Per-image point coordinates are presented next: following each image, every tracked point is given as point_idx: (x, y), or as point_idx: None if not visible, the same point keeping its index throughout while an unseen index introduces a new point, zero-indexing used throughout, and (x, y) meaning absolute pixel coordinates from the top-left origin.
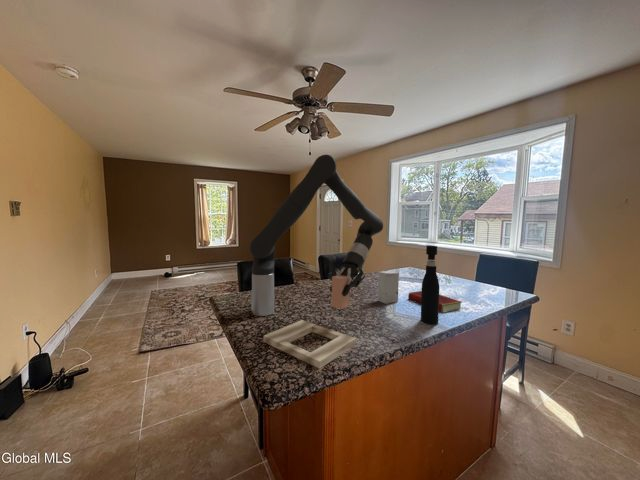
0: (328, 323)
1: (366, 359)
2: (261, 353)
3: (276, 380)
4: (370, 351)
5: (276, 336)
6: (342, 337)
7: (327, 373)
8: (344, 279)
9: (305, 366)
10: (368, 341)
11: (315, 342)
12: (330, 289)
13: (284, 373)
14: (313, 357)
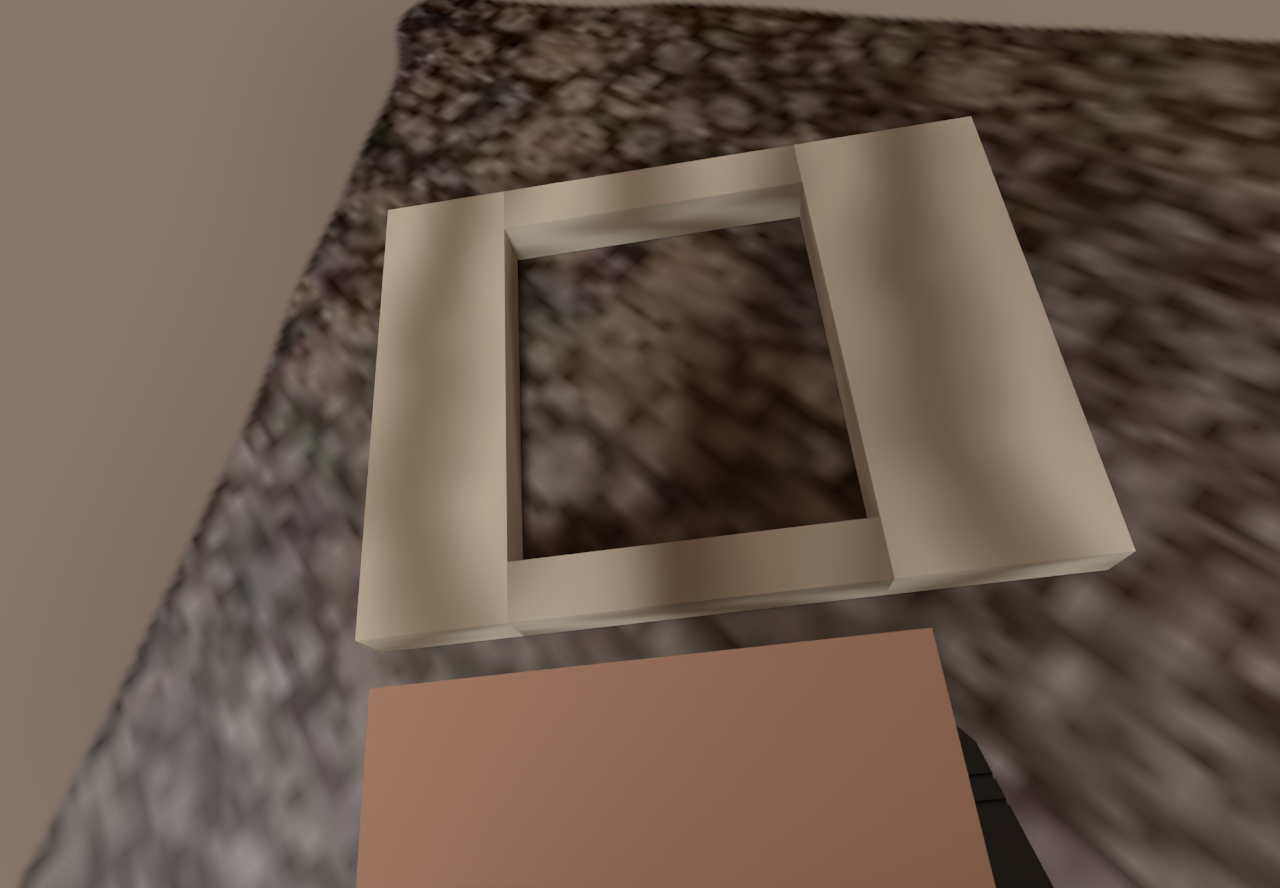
0: None
1: (212, 521)
2: (804, 93)
3: (512, 58)
4: (227, 644)
5: (891, 175)
6: (466, 559)
7: (346, 246)
8: (386, 866)
9: None
10: (312, 803)
11: (672, 422)
12: None
13: (527, 102)
14: (449, 209)
